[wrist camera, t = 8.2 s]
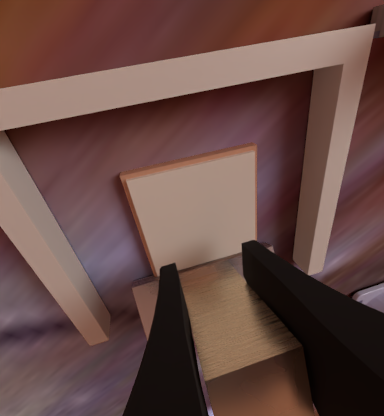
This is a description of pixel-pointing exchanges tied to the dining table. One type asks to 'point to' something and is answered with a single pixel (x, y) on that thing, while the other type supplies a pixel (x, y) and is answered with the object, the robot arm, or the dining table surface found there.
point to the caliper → (378, 21)
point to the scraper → (237, 341)
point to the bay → (171, 87)
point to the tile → (195, 206)
